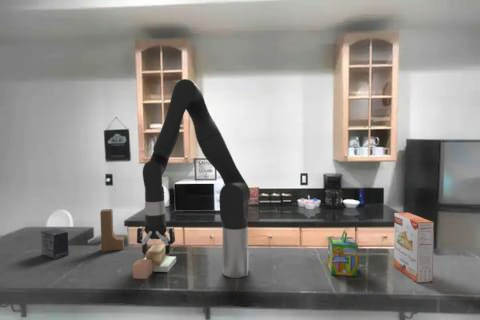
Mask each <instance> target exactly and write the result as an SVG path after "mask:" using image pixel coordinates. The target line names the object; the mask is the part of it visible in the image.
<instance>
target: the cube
mask: <svg viewBox="0 0 480 320" xmlns="http://www.w3.org/2000/svg"><path fill="white" fill-rule="evenodd" d="M152 274H153V271H152V260H149V259H144V258H139V259H137V260H136V261H135V262H133V264H132V279H145V280H147V279H148V278H149V277H151V275H152Z"/></svg>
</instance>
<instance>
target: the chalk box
mask: <svg viewBox="0 0 480 320" xmlns="http://www.w3.org/2000/svg"><path fill="white" fill-rule="evenodd" d="M358 249H359V244H358V242H357V241H356V240H355V239H354V237H348V232H347V231H346V230H343V231H342V234H341V236H333V235H332V236H330V235H329V236H328V237H327V267H328V270H329V271H330V274H331V276H347V277H348V276H349V277H358V257H359V256H358V255H359V250H358Z"/></svg>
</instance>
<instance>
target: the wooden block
mask: <svg viewBox="0 0 480 320" xmlns="http://www.w3.org/2000/svg"><path fill="white" fill-rule="evenodd" d="M113 211H114V210H113V209H112V208H106V209H101V210H100V212H99V215H100V239H101V240H100V243H101V252H113V251H121V250H124V248H125V237H124V236H117V235H116V233H115V232H114V219H113V218H114V217H113V216H114V215H113V214H114V213H113ZM112 250H113V251H112Z"/></svg>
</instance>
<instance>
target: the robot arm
mask: <svg viewBox="0 0 480 320" xmlns="http://www.w3.org/2000/svg"><path fill="white" fill-rule="evenodd" d="M171 93H172V94H171V98H170V102H169V105H168V108H167V113H166V115H165V117H164V118H165V119H164V122H163V124H162V127H161V130H160V131H159V134H158V137H157V139H156V141H155V143H154V145H153V148H152V151H153V152H152V154H151V157H150V159H149V160H148V161H147V162H145V163H144V165H143V167H142V179H143V185H144V186H143V187H144V199H145V201H144V221H145V222H144V225H145V227H143V226H140V227H138V228H137V229H136V243H137V244H138V245H140V244H141V246H142V247H141V249H142V251H141V252H142V253H143V255H144V256H146V252H147V251H148V250H149V248H148V246H149V245H148V242H149V241H150V239H151V240H161V242H162V243H163V244H165V245H166V246H165V255H166V256H169V255H170V253H171V245H173V244H174V243H175V242H176V235H175V227H174V226H171V227H167V224H166V223H167V222H166V219H167V218H166V201H165V188H164V186H163V175H164V173H165V172H166V169H167V166H168V163H169V160H170V157H171V155H172V153H173V151H174V149H175V146H176V144H177V141H178V139H179V136H180V131H181V124H182V120H183V118H184V117H183V116H184V115H185V112H187V114H188V115H189V117H190V118H191V121H192V123H193V128H194V135H195V138H196V141H197V144H198V147H199V148H200V151H201V152H202V154H203V156H204V158H205V159H206V160H207V162H208V163H209V164H210V165H211V166H212V167H213V168H214V170H215V171H216V172H217V173H218V174H219V176H220V177H221V179H222V181H223V183H224V185H223V186H222V187H221V189H220V192H219V198H218V200H219V201H218V202H219V217H220V220H221V224H222V225H221V226H222V227H221V228H222V232H221V234H222V274H223V275H224V276H225V277H227V278H232V279H238V278H244V277H248V275H249V269H250V268H249V267H250V266H249V263H250V262H249V239H248V238H249V233H248V232H249V223H248V222H249V221H248V217H246V216H245V205H246V204H247V203H248V202H249V200H250V198H251V190H250V187H249V185H248V184H247V182H246V180H245V179H244V177H243V175H242V174H241V172H240V170H239V169H238V167H237V166H236V163H235V161H234V159H233V157H232V154H231V152H230V150H229V148H228V145H227V144H226V141H225V139H224V137H223V136H222V133H221V132H220V130H219V127H218V126H217V124H216V122H215V120H214V119H213V117H212V116H211V114H210V112H209V110H208V106H207V104H206V102H205V98H204V96H203V93H202V91H201V89H200V87H199V86H198V85H197V84H196V83H195V82H194V81H193V80H191V79H189V78H183V79H180V80H178V81H177V82H176V83H175V86H174V87H173V91H172V92H171ZM144 232H145V234H146V235H145V237H144ZM166 232H167V233H168V235H169V237H168V235H167V234H166ZM143 237H144V238H143Z"/></svg>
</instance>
